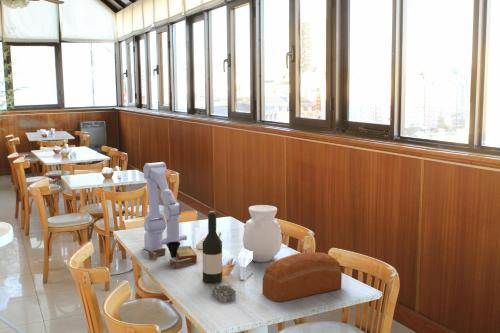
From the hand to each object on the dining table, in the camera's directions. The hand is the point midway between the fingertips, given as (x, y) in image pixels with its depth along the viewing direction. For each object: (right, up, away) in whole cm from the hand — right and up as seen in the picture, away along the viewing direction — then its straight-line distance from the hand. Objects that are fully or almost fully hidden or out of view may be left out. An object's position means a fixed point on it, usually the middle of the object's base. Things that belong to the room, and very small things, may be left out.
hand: (173, 257), depth 272 cm
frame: (-1, -2, -1) cm, 3 cm away
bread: (+57, -8, -38) cm, 69 cm away
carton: (+5, -2, +3) cm, 6 cm away
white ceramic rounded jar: (+42, -1, +2) cm, 42 cm away
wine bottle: (+20, -6, -27) cm, 34 cm away
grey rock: (+26, -9, -45) cm, 52 cm away
